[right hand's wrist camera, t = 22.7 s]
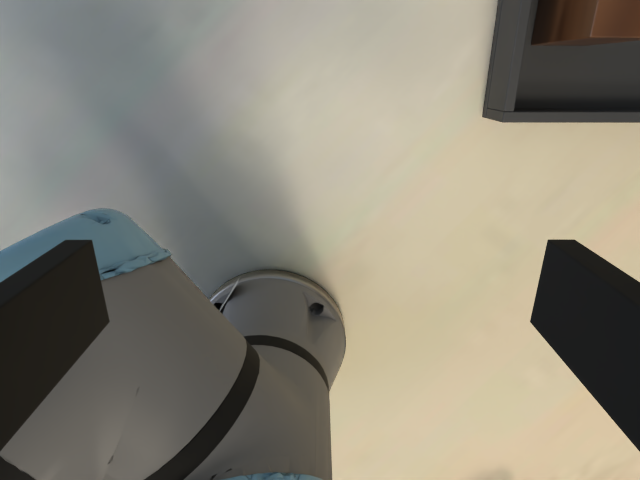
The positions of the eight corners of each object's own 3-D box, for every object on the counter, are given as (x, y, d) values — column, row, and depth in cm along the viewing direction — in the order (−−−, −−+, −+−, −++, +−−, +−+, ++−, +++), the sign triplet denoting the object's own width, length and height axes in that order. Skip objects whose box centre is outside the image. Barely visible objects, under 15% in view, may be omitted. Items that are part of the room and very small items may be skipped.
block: (600, -20, 32) (685, -48, 24) (586, 45, 34) (662, 37, 26) (541, -20, 32) (608, -49, 24) (530, 45, 34) (590, 37, 26)
